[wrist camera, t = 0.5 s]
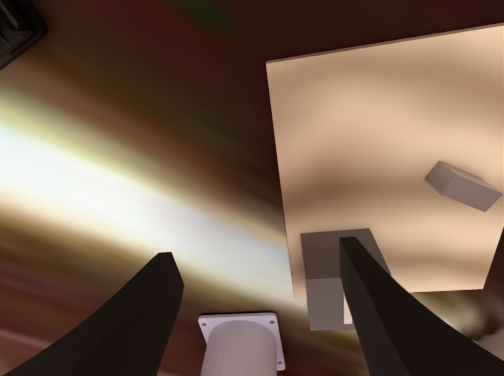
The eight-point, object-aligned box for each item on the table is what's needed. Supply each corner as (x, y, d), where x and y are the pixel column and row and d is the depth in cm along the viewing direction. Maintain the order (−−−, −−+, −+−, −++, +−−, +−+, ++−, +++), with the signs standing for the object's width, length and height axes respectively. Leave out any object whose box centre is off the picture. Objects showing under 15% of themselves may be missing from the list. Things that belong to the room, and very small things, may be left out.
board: (471, 274, 24) (482, 288, 23) (293, 284, 26) (294, 297, 25) (548, 15, 15) (574, 13, 14) (266, 61, 17) (266, 63, 16)
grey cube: (366, 277, 23) (386, 331, 19) (304, 280, 24) (310, 333, 20) (369, 228, 21) (392, 277, 16) (300, 233, 21) (306, 282, 17)
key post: (481, 178, 18) (503, 194, 16) (465, 195, 19) (485, 212, 17) (439, 160, 18) (456, 174, 16) (424, 178, 18) (440, 194, 17)
